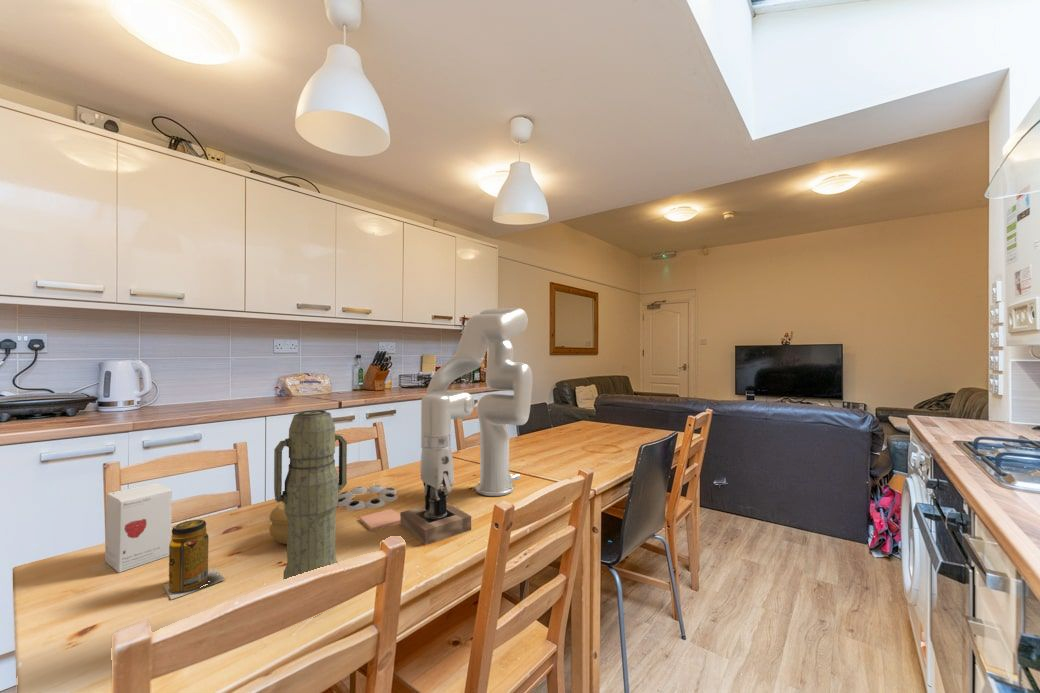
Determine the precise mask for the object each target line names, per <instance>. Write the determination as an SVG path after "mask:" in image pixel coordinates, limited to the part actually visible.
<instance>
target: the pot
mask: <svg viewBox="0 0 1040 693" xmlns="http://www.w3.org/2000/svg"><path fill="white" fill-rule="evenodd" d="M269 521H270V522H271V524H270V526H269V528H268V529H269V534H270V535H271V537H272V538H273V540H275V541H276V542H277V543H280V544H284V545H287V516H286V514H285V512H284V503H283V502H280V503H279V504H278V505H277V506H275V508H273V510H272V511H271V512H270V514H269Z"/></svg>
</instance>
